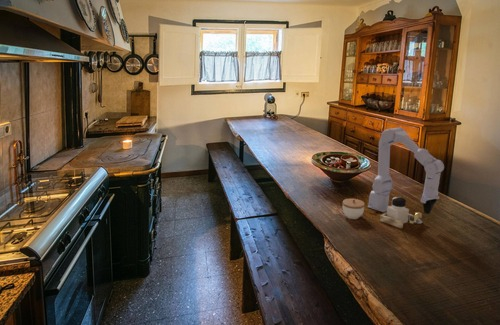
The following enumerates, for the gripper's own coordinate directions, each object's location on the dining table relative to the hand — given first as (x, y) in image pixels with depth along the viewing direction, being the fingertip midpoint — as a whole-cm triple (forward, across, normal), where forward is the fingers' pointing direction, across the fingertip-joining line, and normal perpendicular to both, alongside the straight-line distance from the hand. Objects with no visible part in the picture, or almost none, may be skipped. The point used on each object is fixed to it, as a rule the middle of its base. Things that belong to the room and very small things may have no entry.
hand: (427, 213), depth 163 cm
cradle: (+7, -4, +12) cm, 14 cm away
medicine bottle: (+7, -4, +12) cm, 14 cm away
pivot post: (+7, +2, +4) cm, 8 cm away
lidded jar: (+7, -16, +29) cm, 34 cm away
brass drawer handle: (+4, -2, +4) cm, 6 cm away
